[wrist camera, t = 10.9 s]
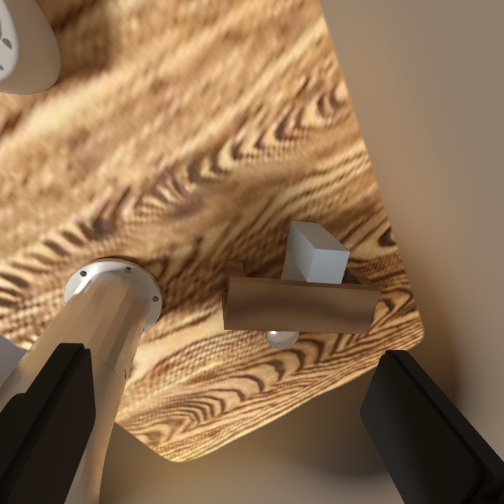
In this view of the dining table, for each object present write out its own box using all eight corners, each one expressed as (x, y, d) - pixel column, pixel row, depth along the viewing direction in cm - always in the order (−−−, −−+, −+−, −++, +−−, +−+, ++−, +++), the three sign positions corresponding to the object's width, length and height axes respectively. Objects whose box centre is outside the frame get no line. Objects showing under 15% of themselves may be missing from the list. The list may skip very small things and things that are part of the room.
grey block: (290, 220, 40) (315, 248, 31) (318, 223, 41) (350, 251, 32) (271, 317, 46) (286, 365, 37) (295, 318, 47) (316, 365, 38)
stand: (346, 307, 47) (366, 334, 41) (222, 301, 44) (224, 329, 38) (358, 268, 45) (381, 291, 39) (227, 259, 41) (230, 281, 35)
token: (298, 338, 49) (300, 344, 47) (268, 345, 49) (270, 352, 47) (293, 314, 47) (296, 319, 45) (263, 321, 46) (265, 327, 45)
